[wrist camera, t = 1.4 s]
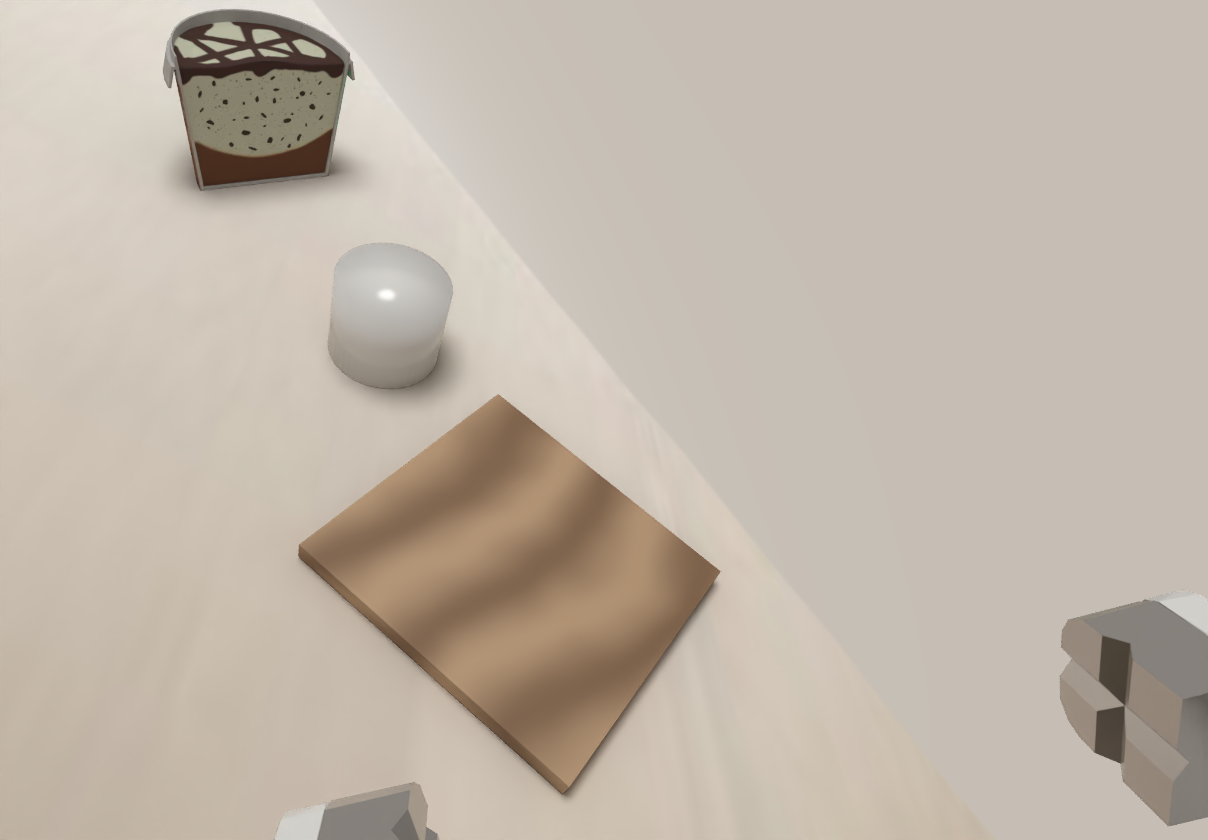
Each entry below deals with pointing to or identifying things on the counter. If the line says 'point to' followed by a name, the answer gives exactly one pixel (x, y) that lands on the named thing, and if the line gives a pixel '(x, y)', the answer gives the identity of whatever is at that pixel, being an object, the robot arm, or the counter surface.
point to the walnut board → (516, 583)
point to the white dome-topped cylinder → (388, 314)
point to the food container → (256, 95)
